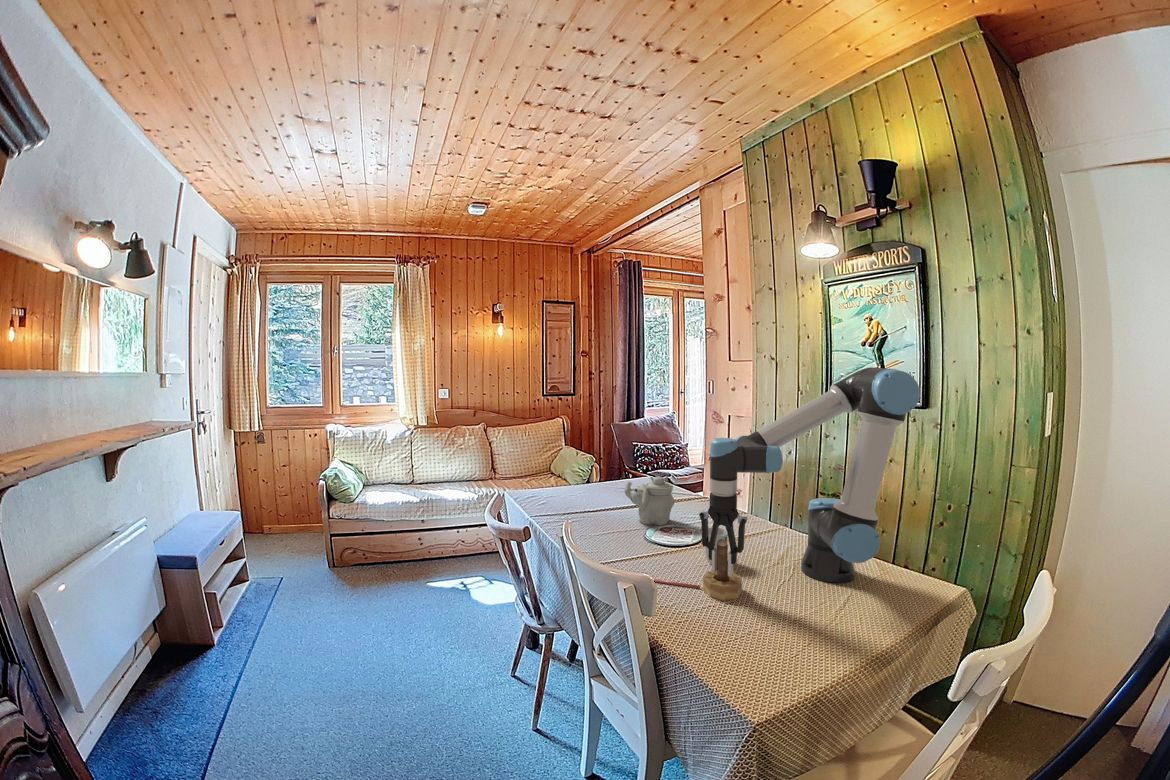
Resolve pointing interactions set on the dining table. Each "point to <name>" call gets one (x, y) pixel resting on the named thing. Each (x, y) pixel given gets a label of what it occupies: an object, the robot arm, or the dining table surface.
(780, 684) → the dining table surface
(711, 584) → the wooden ring block
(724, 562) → the brown rod
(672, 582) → the thin red rod
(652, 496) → the teapot
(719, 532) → the cup
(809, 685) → the dining table surface
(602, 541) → the dining table surface
